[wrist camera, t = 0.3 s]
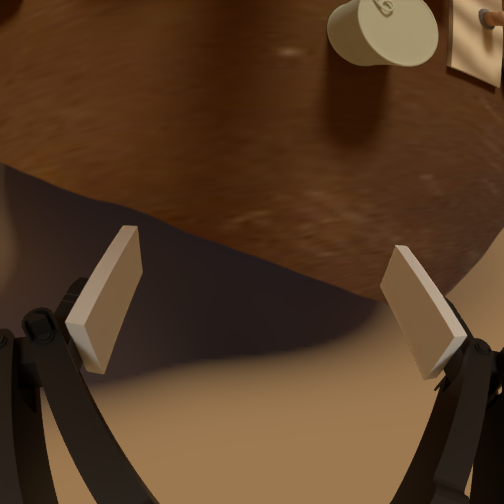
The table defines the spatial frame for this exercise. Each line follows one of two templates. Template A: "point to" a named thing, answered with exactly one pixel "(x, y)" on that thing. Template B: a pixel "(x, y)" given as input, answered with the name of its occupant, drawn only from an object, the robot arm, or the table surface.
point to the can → (383, 32)
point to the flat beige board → (476, 38)
